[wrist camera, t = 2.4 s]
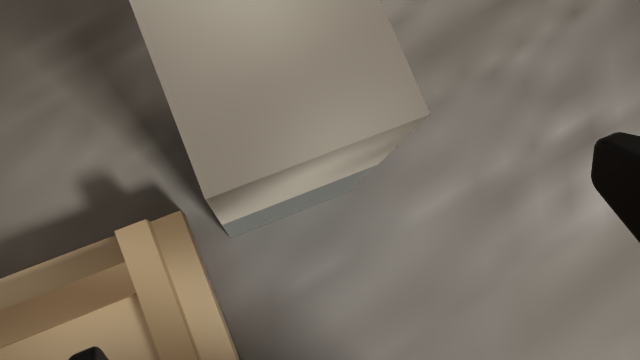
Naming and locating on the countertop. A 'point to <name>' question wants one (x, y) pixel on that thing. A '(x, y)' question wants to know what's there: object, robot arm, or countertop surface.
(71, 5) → the countertop surface
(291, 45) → the plain gray box
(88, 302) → the wooden tray
